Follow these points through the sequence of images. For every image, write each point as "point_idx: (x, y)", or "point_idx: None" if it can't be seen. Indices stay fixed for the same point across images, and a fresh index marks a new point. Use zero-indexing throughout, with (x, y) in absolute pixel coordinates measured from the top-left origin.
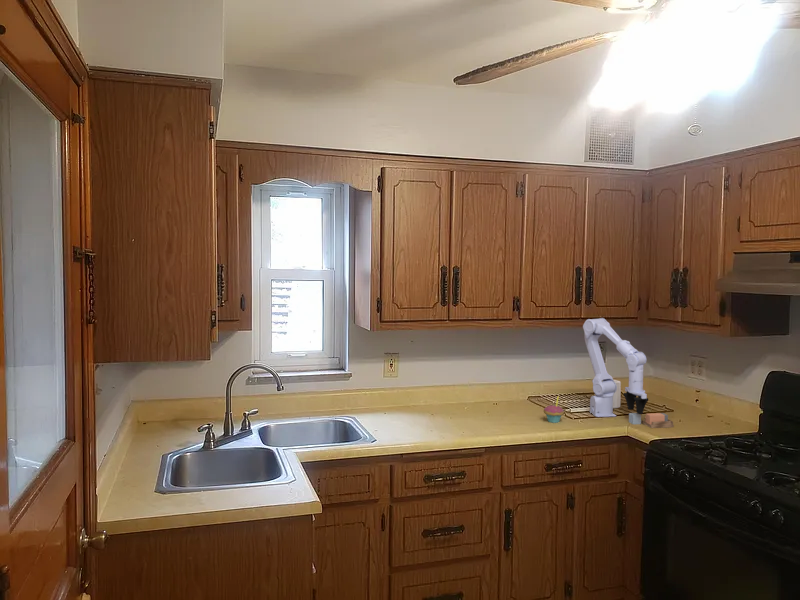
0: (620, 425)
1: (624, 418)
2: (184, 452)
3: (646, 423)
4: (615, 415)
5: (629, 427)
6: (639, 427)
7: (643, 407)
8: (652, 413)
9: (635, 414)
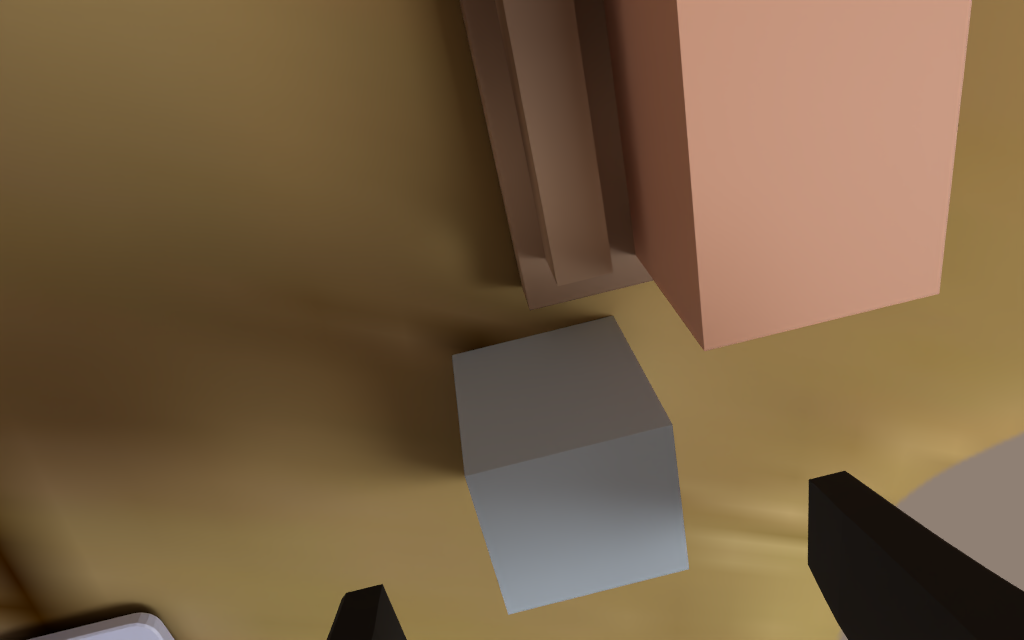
0: (689, 597)
1: (236, 506)
2: None
3: None
4: (153, 635)
5: (801, 511)
6: (821, 382)
7: (1004, 604)
8: (696, 152)
9: (613, 521)
